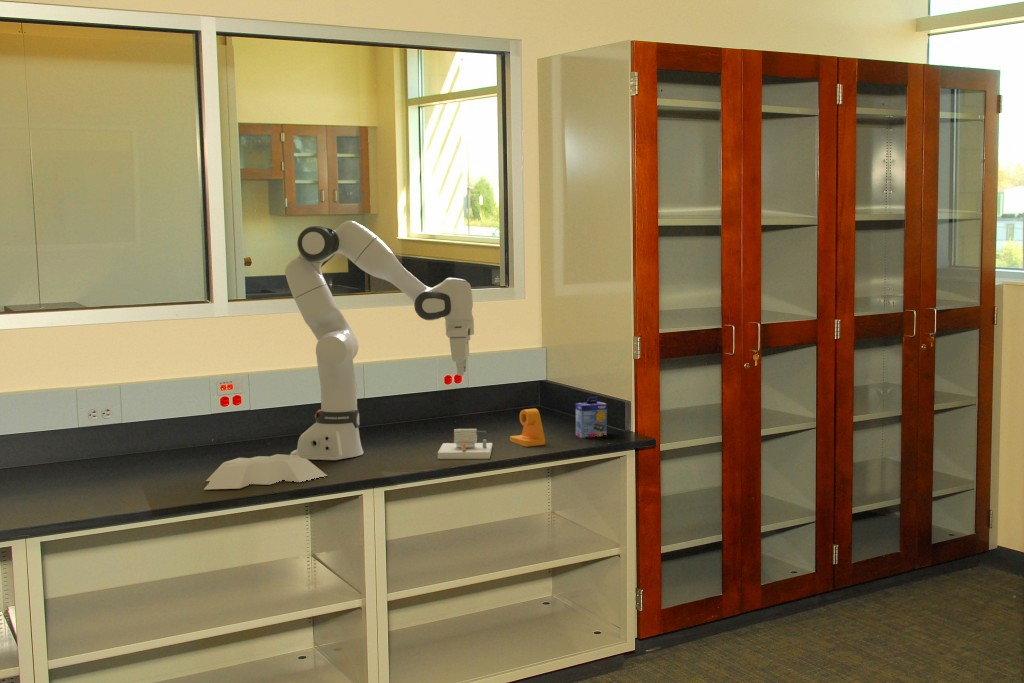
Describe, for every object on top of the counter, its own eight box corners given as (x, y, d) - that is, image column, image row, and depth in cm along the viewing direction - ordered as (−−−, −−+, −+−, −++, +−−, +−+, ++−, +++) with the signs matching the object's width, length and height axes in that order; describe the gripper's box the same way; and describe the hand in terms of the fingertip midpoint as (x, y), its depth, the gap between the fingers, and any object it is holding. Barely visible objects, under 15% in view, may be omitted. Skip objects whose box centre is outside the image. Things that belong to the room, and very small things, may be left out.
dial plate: (437, 459, 316) (437, 444, 316) (443, 449, 332) (442, 435, 332) (489, 458, 316) (489, 444, 315) (492, 449, 332) (492, 435, 331)
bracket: (508, 444, 340) (508, 408, 339) (527, 442, 344) (526, 406, 343) (526, 449, 331) (525, 412, 330) (545, 446, 335) (544, 410, 334)
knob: (453, 448, 321) (453, 431, 321) (455, 445, 327) (455, 427, 327) (485, 448, 321) (485, 430, 320) (486, 444, 327) (486, 427, 326)
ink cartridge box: (582, 441, 344) (581, 398, 342) (574, 438, 349) (574, 396, 347) (608, 438, 348) (607, 396, 346) (600, 436, 353) (599, 394, 351)
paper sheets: (314, 466, 311) (314, 448, 310) (331, 478, 293) (331, 459, 293) (195, 478, 296) (194, 459, 296) (205, 491, 278) (204, 472, 278)
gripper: (452, 327, 331) (455, 370, 332) (446, 332, 311) (448, 377, 312) (472, 326, 331) (474, 369, 332) (467, 331, 310) (469, 376, 311)
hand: (462, 373), depth 322 cm, fingers open, 8 cm apart
